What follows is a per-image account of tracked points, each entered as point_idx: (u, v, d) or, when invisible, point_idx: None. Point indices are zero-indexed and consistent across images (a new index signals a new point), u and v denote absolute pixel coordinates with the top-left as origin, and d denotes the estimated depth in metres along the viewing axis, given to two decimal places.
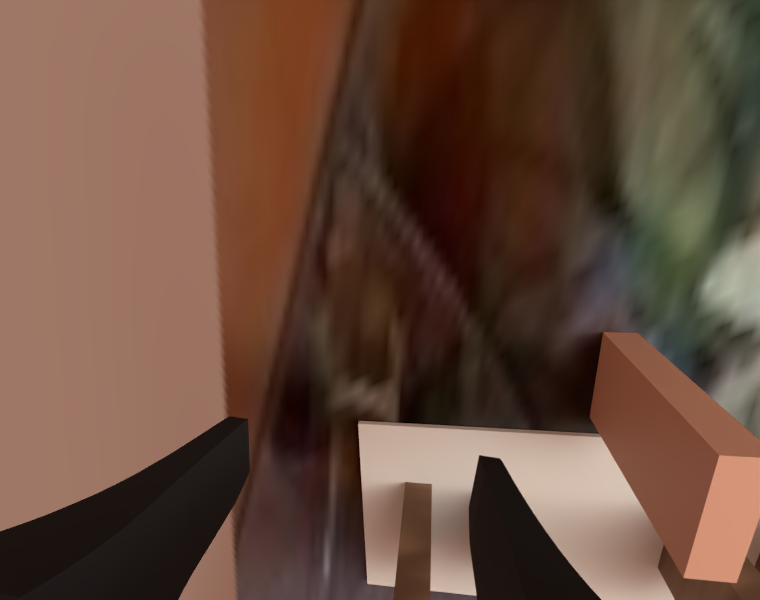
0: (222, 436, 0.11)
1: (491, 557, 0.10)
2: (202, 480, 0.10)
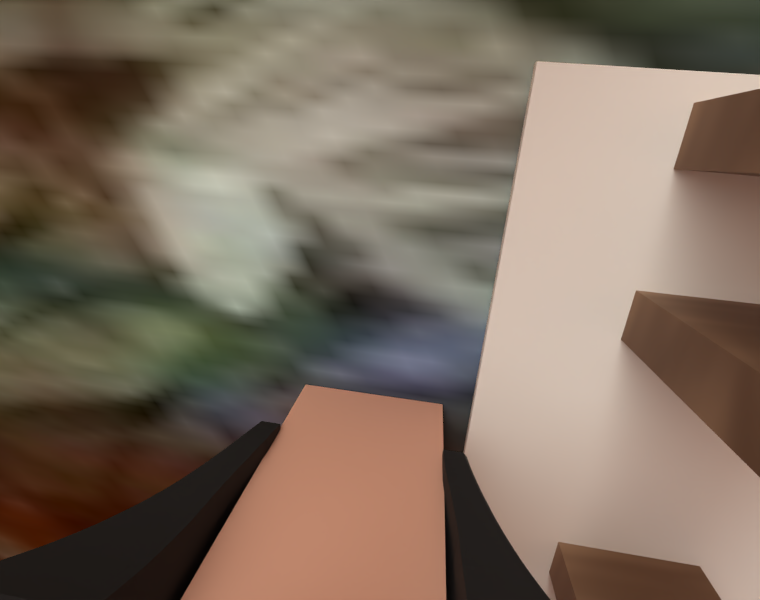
0: (258, 442, 0.11)
1: (446, 549, 0.10)
2: (241, 487, 0.10)
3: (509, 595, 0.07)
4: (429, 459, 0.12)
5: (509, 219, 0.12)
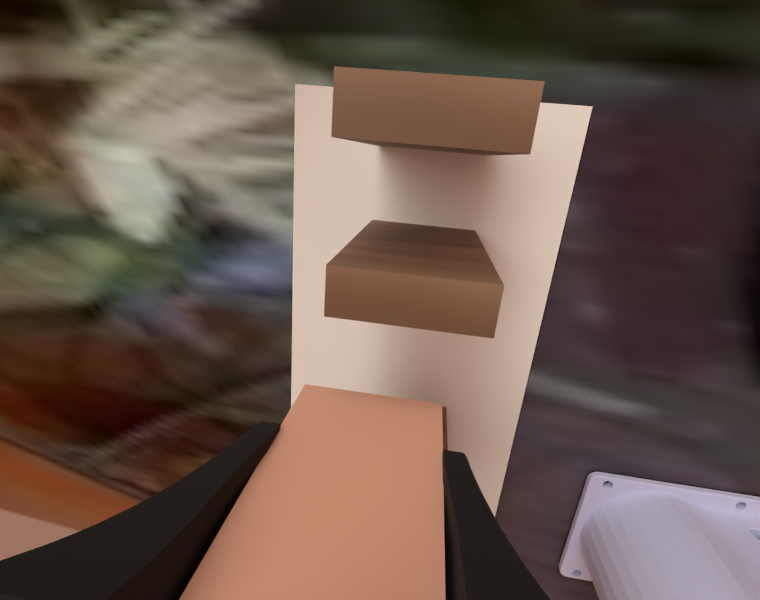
0: (258, 442, 0.11)
1: (446, 549, 0.10)
2: (241, 487, 0.10)
3: (509, 595, 0.07)
4: (429, 458, 0.12)
5: (294, 176, 0.20)
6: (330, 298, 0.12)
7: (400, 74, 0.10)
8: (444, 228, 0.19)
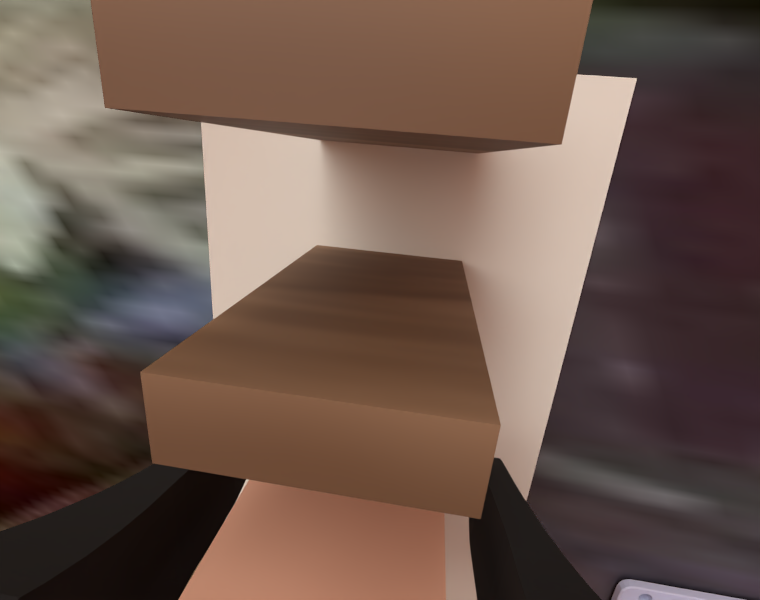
0: None
1: (491, 557, 0.10)
2: (202, 480, 0.10)
3: None
4: None
5: (205, 184, 0.14)
6: (159, 432, 0.06)
7: None
8: (417, 258, 0.14)
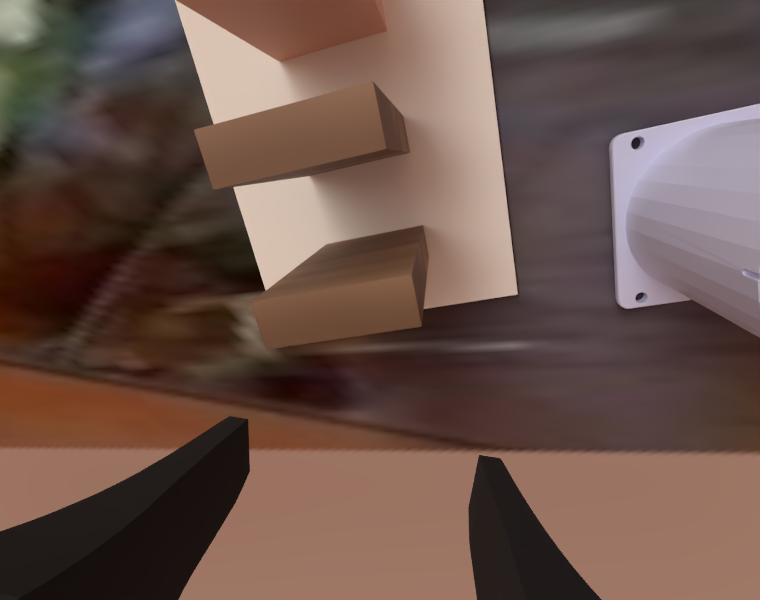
0: (222, 436, 0.11)
1: (491, 557, 0.10)
2: (202, 480, 0.10)
3: None
4: None
5: None
6: None
7: None
8: None
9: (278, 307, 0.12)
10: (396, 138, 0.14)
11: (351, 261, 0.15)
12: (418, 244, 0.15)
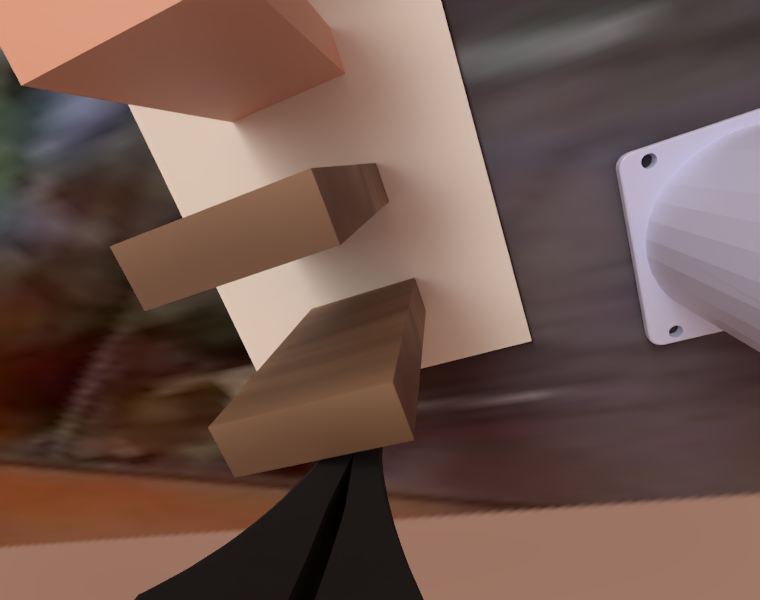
0: (347, 456, 0.11)
1: None
2: (337, 503, 0.10)
3: (369, 569, 0.07)
4: None
5: None
6: None
7: None
8: None
9: (241, 430, 0.10)
10: (362, 207, 0.12)
11: (330, 346, 0.13)
12: (406, 315, 0.13)
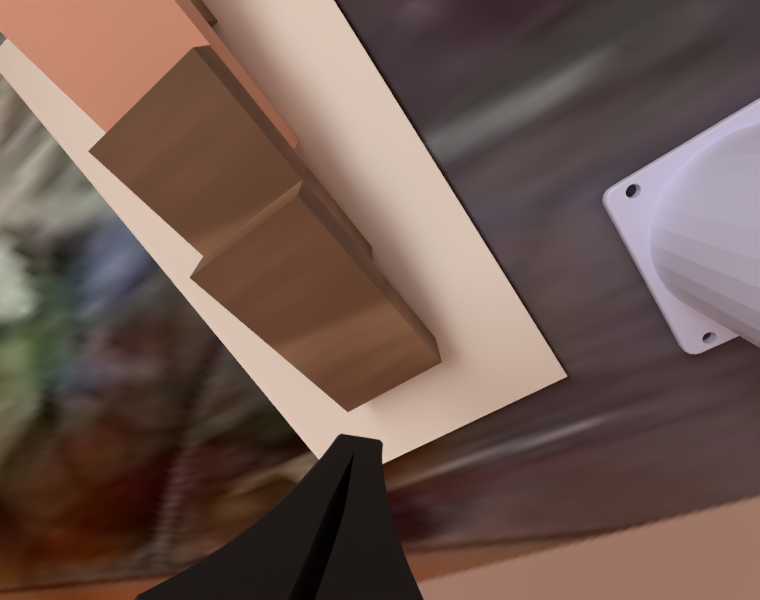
0: (347, 456, 0.11)
1: None
2: (337, 503, 0.10)
3: (369, 569, 0.07)
4: None
5: (59, 143, 0.18)
6: None
7: None
8: None
9: (216, 247, 0.15)
10: (277, 144, 0.14)
11: None
12: (374, 265, 0.16)
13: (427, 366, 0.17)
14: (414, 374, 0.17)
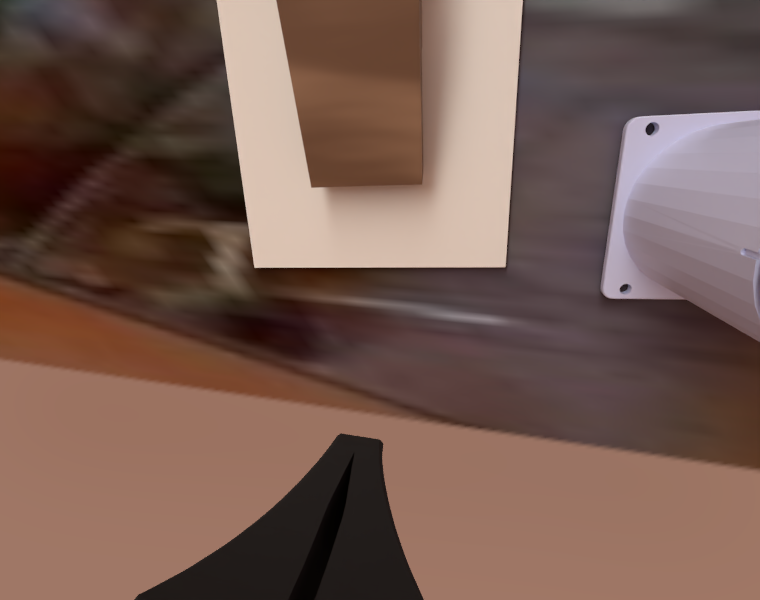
0: (347, 456, 0.11)
1: None
2: (337, 503, 0.10)
3: (370, 569, 0.07)
4: None
5: None
6: None
7: None
8: None
9: None
10: None
11: None
12: (421, 54, 0.16)
13: (408, 180, 0.18)
14: (392, 182, 0.18)
